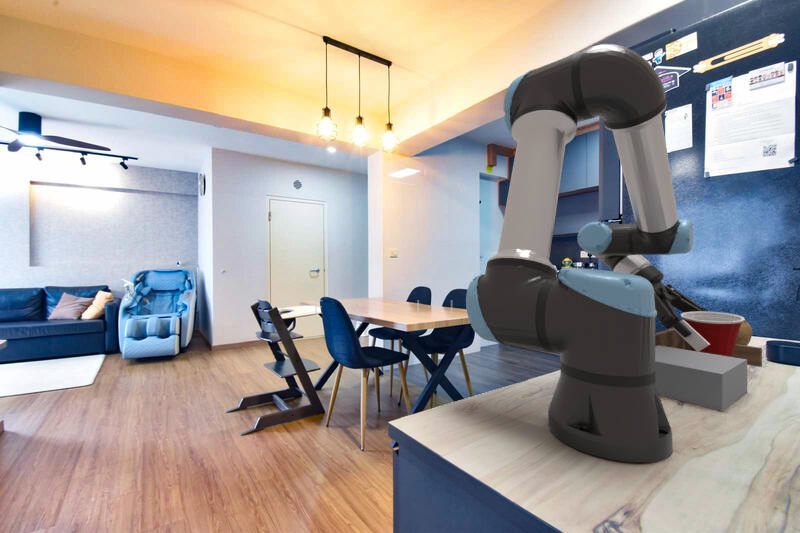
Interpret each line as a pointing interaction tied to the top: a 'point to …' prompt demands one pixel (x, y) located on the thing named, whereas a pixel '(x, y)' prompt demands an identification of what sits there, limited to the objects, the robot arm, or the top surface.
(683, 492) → the top surface
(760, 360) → the brown wooden frame
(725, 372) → the grey square block
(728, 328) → the plastic cup
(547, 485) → the top surface
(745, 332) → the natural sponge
